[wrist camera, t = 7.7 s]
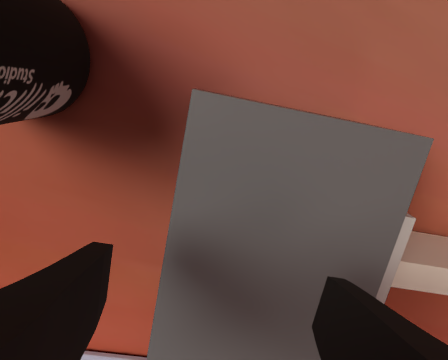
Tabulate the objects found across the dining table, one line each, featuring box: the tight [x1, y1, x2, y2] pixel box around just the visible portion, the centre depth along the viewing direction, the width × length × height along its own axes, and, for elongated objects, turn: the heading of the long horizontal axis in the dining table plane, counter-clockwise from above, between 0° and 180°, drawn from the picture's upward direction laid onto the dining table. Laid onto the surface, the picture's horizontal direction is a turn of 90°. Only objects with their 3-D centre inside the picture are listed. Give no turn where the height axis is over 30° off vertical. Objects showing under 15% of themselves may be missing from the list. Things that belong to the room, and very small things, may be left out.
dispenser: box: [147, 89, 434, 360], centre depth 18 cm, size 14×11×7 cm
